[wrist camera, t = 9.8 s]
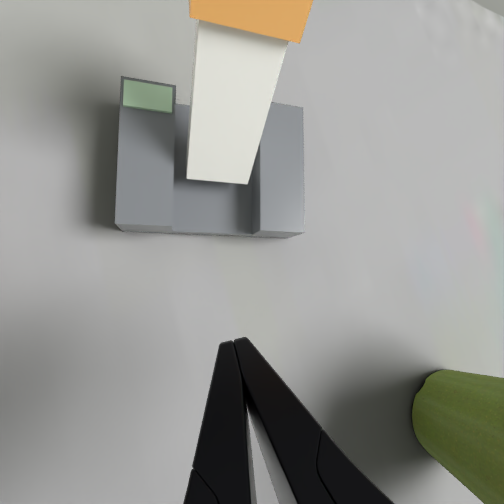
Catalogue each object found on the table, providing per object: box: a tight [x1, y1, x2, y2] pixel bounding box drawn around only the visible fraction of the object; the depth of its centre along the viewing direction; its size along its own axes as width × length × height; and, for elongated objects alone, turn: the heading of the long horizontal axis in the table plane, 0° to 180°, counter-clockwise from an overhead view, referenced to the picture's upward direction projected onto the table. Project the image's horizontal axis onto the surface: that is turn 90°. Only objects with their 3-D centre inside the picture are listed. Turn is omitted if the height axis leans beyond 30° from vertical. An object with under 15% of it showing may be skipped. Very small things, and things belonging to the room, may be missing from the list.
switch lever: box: [186, 0, 313, 184], centre depth 16 cm, size 3×5×10 cm
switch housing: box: [115, 76, 305, 238], centre depth 20 cm, size 9×12×3 cm
